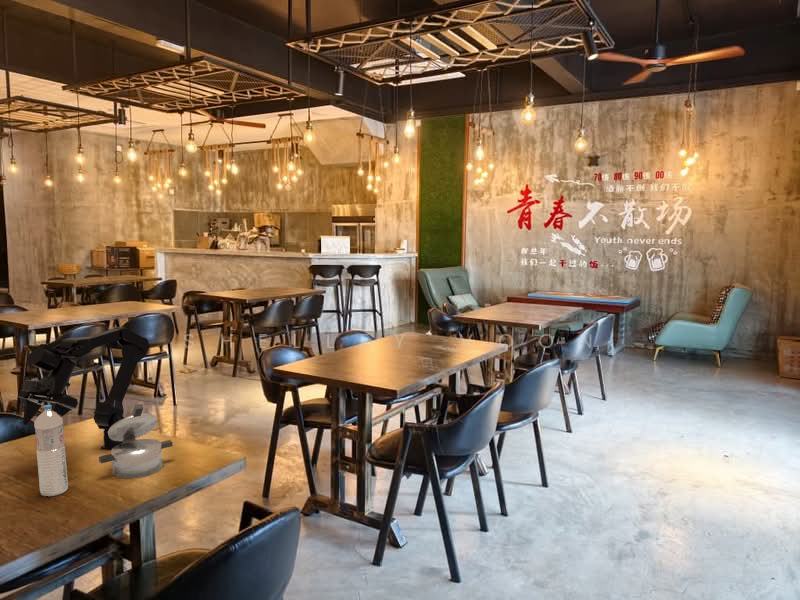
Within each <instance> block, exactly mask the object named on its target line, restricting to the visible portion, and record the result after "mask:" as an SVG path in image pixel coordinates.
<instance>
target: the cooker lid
mask: <svg viewBox="0 0 800 600" xmlns="http://www.w3.org/2000/svg"><path fill="white" fill-rule="evenodd" d="M143 405H144V404H142V403H139V404H136V405H134V408H133V411H132V415H129V416H126V417H124V418H123V419H121V420H119V421H118V422H116V423H115V424H113V425H112V426H111V427H110V428H109V430H108V435H109V438H110V439H111V440H114V441H127V440H132V439H139V438H141V437H142V436H145V435H147V434H148V433H150V432H151V431H153V430H154V429H155V428H156V426H157V425H158V419H157V416H156V415H155V414H152V413H149V412H148V413H147V412H143V410H144V406H143Z"/></svg>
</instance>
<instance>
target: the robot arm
mask: <svg viewBox="0 0 800 600" xmlns="http://www.w3.org/2000/svg"><path fill="white" fill-rule="evenodd" d="M115 342H117V343H118V345H120V346H121V351H120V352H121V357H122V361H121V363H120V366H119V368H118V370H117V373H116V375H115V378H114V381H113V383H112V385H111V388H110V390H109V393H108V395H107V398H106V399H105V400H104V401H99V402H97V404H96V407H95V410H94V412H93V414H94V415H93V421H94V423H95V425H97V427H98V429H99V430H103V445H101V446H100V449H103V450H108V449H109V450H112V448H113V447H115V446H116V445H119V444H121V443H123V441H114V440H111V439H110V438H109V435H108V430H109V428H110V427H111V426H112V425H113V424H115V423H116V422H118V421H119V420H121V419H123V418H125V417H124V416H123V415H124V405H123V403H124V399H125V396H126V393H127V392H128V389H129V386H130V384H131V381H132V378H133V375H134V373H135V370H136V368H137V365H138V363H140V361H142V360H143V359H144V358H145V357H146V355H147V354H148V351H149V349H150V345H151V344H150V343H149V339H147V338H146V337H143V336H141V335H139V334H137V333H135V332H133V331H131V330H130V329H129V328H127V327H122V326H121V327H120V326H115V327H113V328H111V329H107V330H105V331H101V332H97V333H95V334H91V335H89V336H88V335H87V336H84V337H83V336H82V337H69V338H64V339H61V341H60V343H59V344H57V345H56V346H54V347H51V346H49V345H48V344H46V343H39V346H38V347H35V348H34V349H33V350H32V351H31V352H30V353H29V355H28V357H27V362H28V364H29V365H31V366H34V367H36V368H38V369H41V370H42V371H44V372H49V373H48V375H47V376H46V375H44V376H43V377H42V378H40V379H37V380H36V379H24V384H23V388H22V389H21V390H20V392H19V393H18V395H17V397H18V398H19V400H20V401H21V402H22V404H23V407H24V408H23V416H22V417H23V418H22V425H24V426H27V425H28V424H29V423H30V422H31V421H32V419H33V418H34V416H35V415H36V414H37V413H39V412H38V411H40V409H41V408H42V407H43V405H42V403H44V402H47V403H49V405H51V406H52V409H51V410H52V411H55V412H57V413H58V414H59V415H61V416H62V417H64V416H65V415H66V414H67V413H69V412H72V411H73V409H74V410H76V409H77V407H78V405H79V400H78V398H75V397H73V396H71V395H68V394H66V393H64V391H65V389H66V387H67V388H69V387H70V386H71V383H69V381H70V379H71V377H72V374H73V372H74V370H75V369H80V370H81V369H82V367H83V366H82V364H81V363H80V360H79V358H82V357H85V356H86V355H88V354H90V353H91V352H92V351H93V350H95V349H96V348H99V347H102V346H105V345H109V344H112V343H115ZM62 357H63V358H62ZM71 358H77V359H71Z"/></svg>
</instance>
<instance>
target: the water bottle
mask: <svg viewBox="0 0 800 600" xmlns="http://www.w3.org/2000/svg"><path fill="white" fill-rule="evenodd" d="M51 409H52V406H51V405H50V404H45V405H43V410H44V411H42V412H41V413H40V414H39V415H38V416H37V418H36V419H35V420H34V422H33V424H34V425H33V426H34V427H33V428H34V429H35V430H34V431H35V441H36V443H35V444H36V459H37V471H38V472H37V473H38V484H39V492H40V495H41V496H42V497H46V496H48V497H55V496H59V495H62V494H64V493H65V492H66V491H67V490H68V489H69V479H68V478H69V477H68V468H67V455H66V452H67V451H66V444H65V435H64V434H65V433H64V418H63V416H61V415H59V414H58V413H57V412H55V411H52V410H51Z"/></svg>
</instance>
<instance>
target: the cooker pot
mask: <svg viewBox="0 0 800 600" xmlns="http://www.w3.org/2000/svg"><path fill="white" fill-rule="evenodd" d="M173 444H174V443H173V441H172V440H171V439H168V440H164V441H160V440H158V439H154V438H135V439H132V440H127V441H123V443H121V444H119V445H116V446H115V447H113V448H112V449H110V450H111V451H110V453H108V454H105V455H100V456H98V462H99V463H100V464H105V463H109V462H110V463H111V469H112V475H113V476H114V477H116V478H118V479H119V478H120V479H136V478H142V477H146V476H149V475H152V474H155V473H156V472H159V470H160V468H161V467H162V468H163V455H162V454H163V451H162V450H163V449H166V448H172V447H173ZM162 468H161V469H162Z"/></svg>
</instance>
